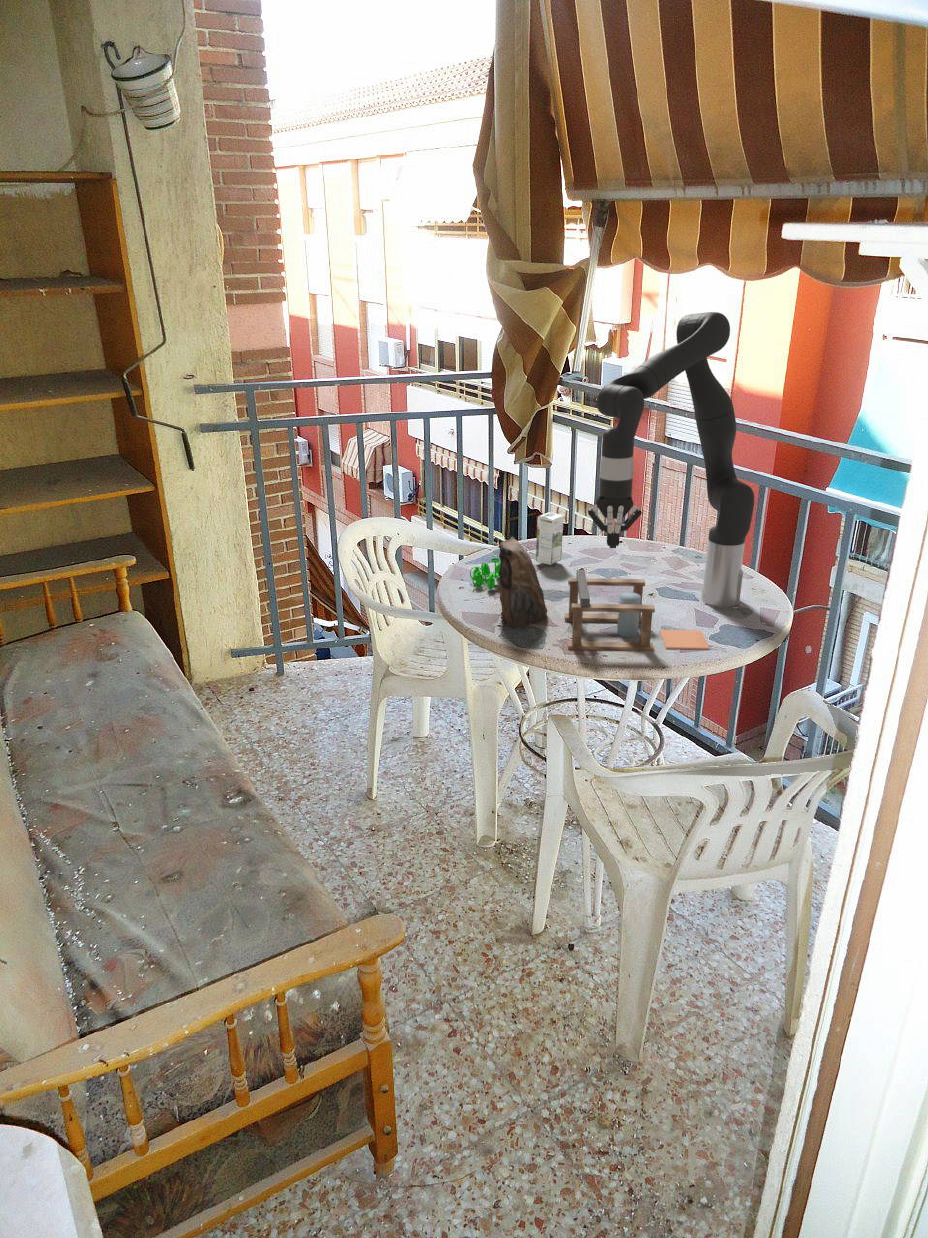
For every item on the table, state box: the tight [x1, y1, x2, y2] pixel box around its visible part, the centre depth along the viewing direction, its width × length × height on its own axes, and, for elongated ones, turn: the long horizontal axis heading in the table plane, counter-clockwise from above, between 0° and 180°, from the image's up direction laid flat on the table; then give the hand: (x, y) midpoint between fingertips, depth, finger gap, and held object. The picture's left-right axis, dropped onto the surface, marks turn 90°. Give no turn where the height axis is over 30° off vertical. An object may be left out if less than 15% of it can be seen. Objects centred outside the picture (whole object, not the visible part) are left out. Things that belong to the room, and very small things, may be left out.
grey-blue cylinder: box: [616, 592, 641, 638], centre depth 208 cm, size 5×5×10 cm
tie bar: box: [575, 569, 591, 607], centre depth 206 cm, size 2×19×2 cm, turn 176°
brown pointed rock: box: [496, 536, 549, 629], centre depth 216 cm, size 13×13×20 cm
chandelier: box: [469, 557, 501, 590], centre depth 243 cm, size 15×15×7 cm
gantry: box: [564, 577, 656, 651], centre depth 208 cm, size 20×20×11 cm
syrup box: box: [535, 512, 565, 566], centre depth 257 cm, size 6×6×14 cm
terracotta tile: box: [659, 629, 710, 650], centre depth 205 cm, size 10×10×1 cm
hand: (612, 547), depth 201 cm, fingers closed
